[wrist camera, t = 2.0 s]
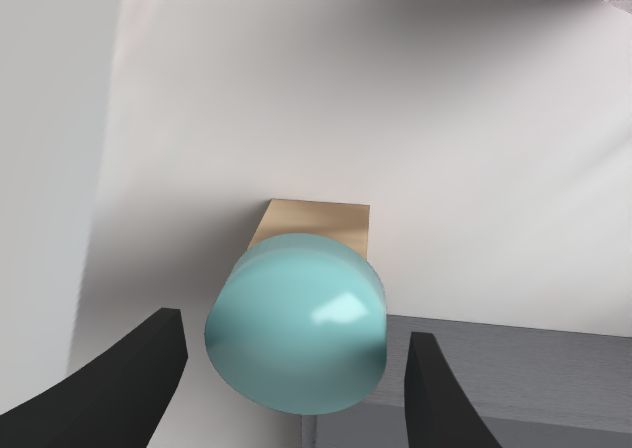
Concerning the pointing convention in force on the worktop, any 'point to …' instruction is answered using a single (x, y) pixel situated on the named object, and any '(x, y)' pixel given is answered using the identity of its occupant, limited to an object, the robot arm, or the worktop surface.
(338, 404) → the teal dome knob
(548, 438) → the player housing
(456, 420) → the robot arm
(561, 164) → the worktop surface
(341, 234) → the oak block
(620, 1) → the smoothie
